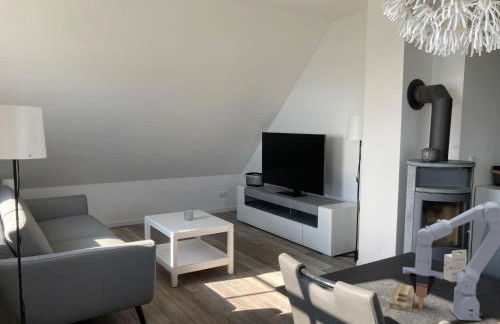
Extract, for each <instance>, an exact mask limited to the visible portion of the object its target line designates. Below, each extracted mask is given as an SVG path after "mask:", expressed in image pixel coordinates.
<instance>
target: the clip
mask: <svg viewBox="0 0 500 324" xmlns="http://www.w3.org/2000/svg"><path fill="white" fill-rule="evenodd" d="M427 288H428V283H422V282H416V293H415V297H417V302H418V303H417V304H418V310H423V309H424V302H425V298H426V299H427V297H428V295H427Z"/></svg>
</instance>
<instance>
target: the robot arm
mask: <svg viewBox="0 0 500 324" xmlns="http://www.w3.org/2000/svg"><path fill="white" fill-rule="evenodd" d="M484 219H485V220H486V222H487V223H488V225H489V228H490V230H489V232H488V234H486V236H485V238H484V240H483V241H482V242H481V244H480V246H479V247H478V249H477V250H476V251H475V253H474V254H473V256H472V258H471V259H470V261H469V262H468V263H467V264H466V266H465V267H464V269H463V270H461V271H459V272H458V273H457V274H456V286H455V287H454V290H453V305H452V306H451V307H450V306H449V307H448V310H449V311H450V312H451V313H452V314H453V315H454V316H455V318H457V319H458V320H459V321H475V322H477V321H479V322H480V321H482V319H481V317H480V308H481V307H480V302H479V300H478V298H477V296H476V295H477V284H478V282H479V280H480V276H481V273H482V272H483V271H484V269H485V267H486V266H487V264H488V263H489V262H490V260H491V258H492V257H493V255H494V254H495V253H496V251H497V250H498V248H499V247H500V205H499V203H497V202H495V201H494V200H493V201H491V200H490V201H489V200H488V201H485V202H483V204H482V203H481V204H478V205H475V206H474V207H472V208H470V209H468V210H466V211H464V212H462V213H460V214H459V215H457V216H455V217H453V218H451V219H449V220H447V219H440V218H439V219H437V220H436V222H435V223H433V224H431V225H429V226H428V225H426V226H425V228H424V227H423V228H420V229H419V230H418V231H417V233H416V241H417V242H416V247H415V259H414V260H415V261H414V262H415V263H414V267H406V266H403V267H402V274H409V279H410V281H411V284H412V286H413V288H414V294H416V284H417V276H422V277H428V280H427V284H428V285H427V296H430V291H431V289H432V287H433V285H434V284H435V282H436V279H439V280H443V276H444V272H441V271H435V270H432V259H433V258H432V257H433V256H432V255H433V248H432V244H433V242H434V241H437V240H440V239H442V238H443V237H446V236H448V235H450V234H452V233H453V231H454V229H455V228H457V227H460V226H463V225H466V224H467V223H469V222H473V221H480V222H484Z"/></svg>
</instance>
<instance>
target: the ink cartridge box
mask: <svg viewBox="0 0 500 324" xmlns="http://www.w3.org/2000/svg"><path fill="white" fill-rule="evenodd" d="M467 251H468V250H467V249H456V250H452V251H451V253H448V254H446V253H445V254H444V255H443V257H444V258H443V259H444V260H443V279H444V280H446V281H448V282H449V283H454V282H456V283H457V281H456V274H457V273H458V272H459V271H461V270H463V269H464V267H465V266H466V265H467V259H468V258H467V257H468V256H467V253H468V252H467ZM443 279H442V280H443Z"/></svg>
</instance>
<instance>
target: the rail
mask: <svg viewBox="0 0 500 324" xmlns="http://www.w3.org/2000/svg"><path fill="white" fill-rule="evenodd" d="M414 296H415V293H414V288H413V285H408V284H402V283H395V282H394V285H393V290H392V293H391V297H390V301H389V308H390V309H396V310H399V311H400V310H401V311H405V312H413V304H414Z"/></svg>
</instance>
